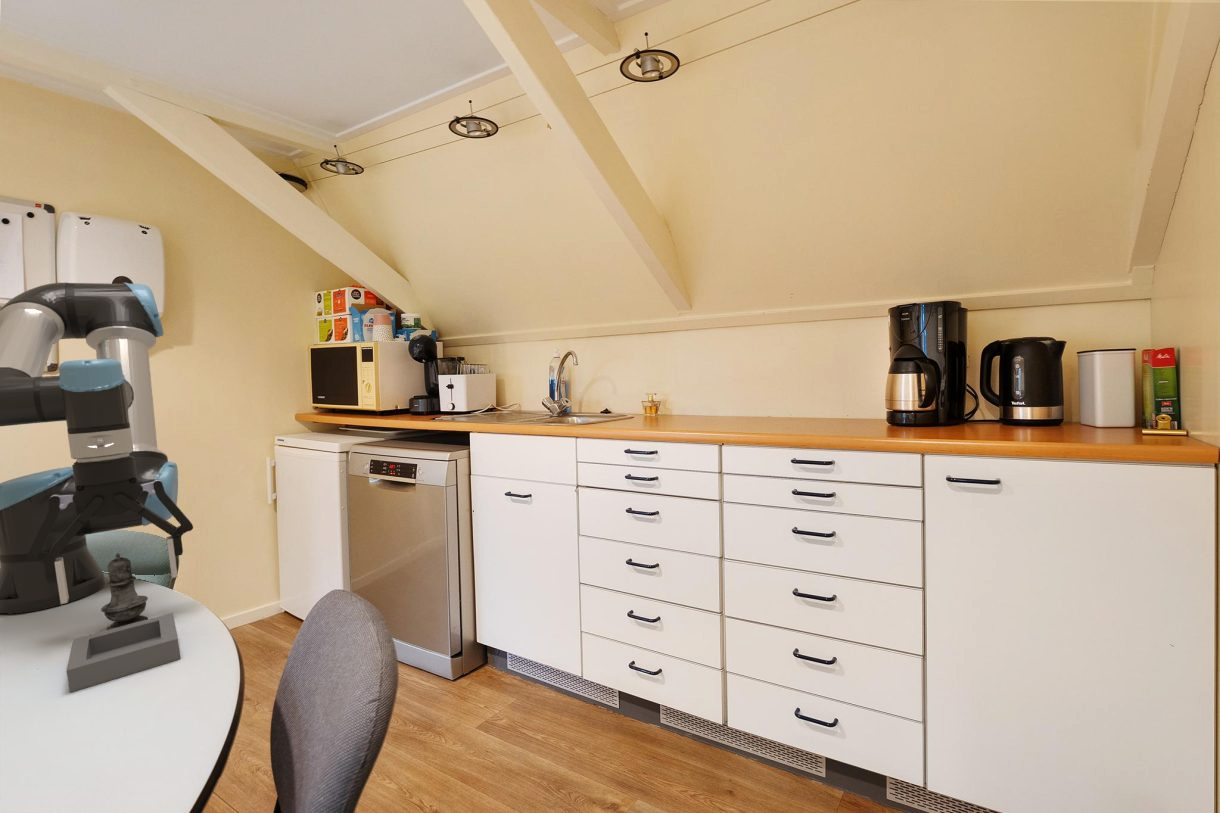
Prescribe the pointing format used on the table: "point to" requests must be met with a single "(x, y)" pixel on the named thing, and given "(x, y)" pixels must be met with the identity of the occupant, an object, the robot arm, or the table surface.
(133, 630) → the grey square tray
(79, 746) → the table surface
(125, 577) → the dark grey tall piece
